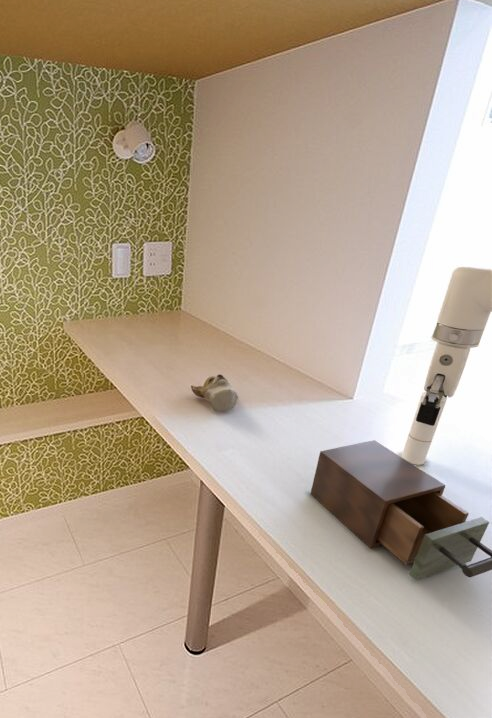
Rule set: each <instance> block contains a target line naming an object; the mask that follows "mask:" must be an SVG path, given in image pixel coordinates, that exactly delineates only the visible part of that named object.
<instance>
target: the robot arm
mask: <svg viewBox="0 0 492 718" xmlns="http://www.w3.org/2000/svg"><path fill="white" fill-rule="evenodd" d="M442 299H443V300H442V302H441V307H440V309H439V312H438V315H437V318H436V322H435V325H434V328H433V332H432V334H431V337H430V338H431V340H432V341H434V342H436V345H435V348H434V351H433V355H432V358H431V360H430V365H429V368H428V370H427V373H426V378H425V382H424V386H423V390H424V392H426V395H425V397H424V400H423V402H422V403H421V405H420V408H419V411H418V414H417V417H416V421H417V422H420V423H424V424H427V425H431V426H434V425H435V422H436V419H437V416H438V413H439V411H440V408H441V407H439V406H440V403H441V400H442V398H443V396H444V397H446V398H447V399H448V398H452V397H454V395H455V393H456V391H457V389H458V386H459V384H460V381H461V379H462V375H463V372H464V370H465V367H466V364H467V362H468V358H469V354H470V351H471V349H473V348H477V347H479V345H480V342H481V339H482V337H483V334H484V331H485V329H486V326H487V324H488V321H489V318H490V315H491V313H492V266H489V265H479V264H462V265H459V266H456V267H455V268H454V269H453V271H452V272H451V275H450V277H449V280H448V284H447V287H446V290H445V293H444V296H443V298H442ZM437 396H439V399H438V397H437Z"/></svg>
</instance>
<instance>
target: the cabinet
mask: <svg viewBox="0 0 492 718" xmlns="http://www.w3.org/2000/svg"><path fill="white" fill-rule="evenodd" d="M445 489H446V484H444V483H442V482H441V481H440V480H438V479H436V478H435V477H433V476H431V475H430V474H429V473H427V472H426V471H424V470H423V469H420V468H419V467H418V466H416V465H415V464H411V463H410V462H408V461H406V460H405V459H403V458H402V456H400V455H399V454H397V453H396V452H394V451H392V450H391V449H389V448H388V447H386V446H384V445H383V444H382V443H380V442H378V441H376V440H374V439H372V440H368V441H364V442H363V441H362V442H359V443H353V444H349V445H344V446H339V447H334V448H330V449H324V450H320V452H319V455H318V460H317V464H316V468H315V473H314V477H313V481H312V485H311V490H310V495H311V496H312V497H313V498H314V499H315V500H316V501H318V502H319V503H320V504H321V505H322V506H323V507H324V508H325V509H326V510H327V511H328V512H329V513H331V514H332V515H333V516H334V517H335V518H336V519H337V520H338V521H339V522H341V524H343V526H345V527H346V528H347V529H348V530H349V531H351V532H352V533H353V534H354V536H356V537H357V538H358V539H359V541H361V542H363V544H365V546H367V547H368V548H369V549H374V548H377V547H379V546H383V545H382V544H381V543H380V542H379V541H378V540H377V537H378V534H379V531H380V528H381V525H382V522H383V519H384V516H385V513H386V510H387V507H388V504H391V503H395V502H399V501H402V500H406V499H410V498H413V497H417V496H421V495H425V494H428V493H432V492H438V493H439V494H441V495H442V496H443V493H444V491H445Z"/></svg>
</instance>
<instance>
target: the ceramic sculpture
mask: <svg viewBox="0 0 492 718" xmlns="http://www.w3.org/2000/svg"><path fill="white" fill-rule="evenodd" d="M190 387H191V391H192V393H193V394H194V395H195V396H196V397H198V398H202V399H205V400H206V401H207V402H209V403H210V404H211V407H212V408H213V410H214V411H216V412H222V413H225V412H226V413H227V412H228V411H231V410H233V409H234V408H235V407H236V405H237V404H238V399H239V395H238V393H237V391H236V390H235V389H233V388H232V385H231V384H230V382H229V381H228V379H227V377H225V376H223V374H217V375H212V376H209V377H208V378H206V379H205V381H204V383H203V385H198V386H196V385H195V386H194V385H190Z"/></svg>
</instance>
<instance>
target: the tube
mask: <svg viewBox="0 0 492 718" xmlns="http://www.w3.org/2000/svg"><path fill="white" fill-rule="evenodd" d="M425 395H426V391H423V392H422V393H421V395H420V399H419V402H418V405H417V407H416V411H415V414H414V416H413V420H412V423H411V426H410V429H409V432H408V435H407V438H406V441H405V444H404V447H403V450H402V454H401V457H402V458H403V459H405V460H406V461H408V462H410V463H411V464H413V465H415V466H416V465H418V466H421V465H423V464H424V463H425V462H426V458H427V456H428V452H429V450H430V447H431V445H432V442H433V439H434V437H435V433H436V431H437V428H438V425H439V422H440V420H441V416H442V413H443V411H444V409H445V406H446V403H447V400H448V397H447V398H446V397H444V396H443V398H442V400H441V403H440V406H439V407H441V408H440V411H439V413H438V416H437V419H436V422H435V425H434V426H431V425H427V424H424V423H420V422H417V421H416V417H417V414H418V411H419V408H420V405H421V403H422V402H423V400H424V397H425ZM437 397H438V399H439V396H437Z"/></svg>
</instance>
